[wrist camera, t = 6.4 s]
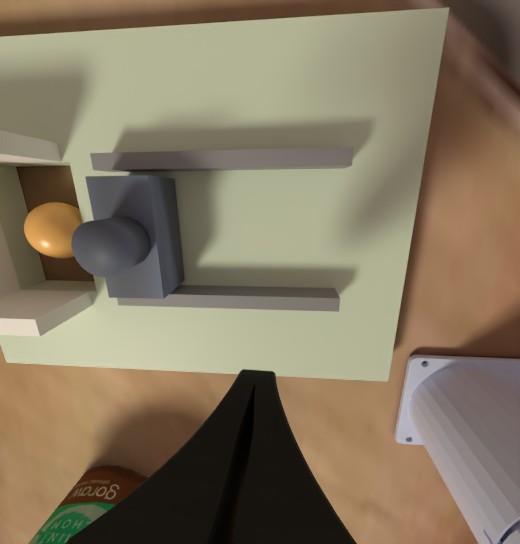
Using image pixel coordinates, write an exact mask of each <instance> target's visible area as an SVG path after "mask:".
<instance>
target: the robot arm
mask: <svg viewBox="0 0 520 544" xmlns="http://www.w3.org/2000/svg"><path fill="white" fill-rule="evenodd" d="M423 361H426V362H425V363H423V364H421V363H422V362H423ZM394 436H395V439H396V441H397V442H398V443H402V444H416V445H424V446H425V448H426V450H427V452H428V453H429V455H430V457H431V459H432V461H433V462H434V464H435V466H436V468H437V470H438V471H439V473H440V475H441V477H442V479H443V480H444V482H445V484H446V486H447V488H448V489H449V491H450V493H451V495H452V496H453V498H454V500H455V502H456V504H457V505H458V507H459V509H460V511H461V513H462V514H463V516H464V518H465V520H466V522H467V523H468V525H469V527H470V529H471V531H472V532H473V534H474V536H475V538H476V540H477V541H478V543H479V544H520V359H510V358H486V357H461V356H437V355H413V356H411V357H410V358H409V360H408V364H407V370H406V375H405V381H404V386H403V391H402V397H401V402H400V407H399V413H398V418H397V423H396V429H395V434H394ZM66 544H357V543H356V542H355V541H354V539H353V538H352V536H351V535H350V533H349V532H348V530H347V529H346V527H345V526H344V524H343V523H342V521H341V520H340V518H339V517H338V515H337V514H336V512H335V511H334V509H333V507H332V506H331V504H330V502H329V501H328V499H327V498H326V496H325V494H324V493H323V491H322V489H321V488H320V486H319V484H318V483H317V481H316V479H315V477H314V476H313V474H312V472H311V470H310V468H309V466H308V464H307V463H306V461H305V459H304V457H303V455H302V453H301V451H300V449H299V446H298V444H297V442H296V440H295V438H294V435H293V433H292V431H291V428H290V426H289V423H288V421H287V418H286V415H285V412H284V409H283V407H282V404H281V400H280V397H279V393H278V389H277V384H276V374H275V373H274V372H273V371H262V370H247V369H243V370H241V371H240V373H239V375H238V377H237V378H236V380H235V382H234V383H233V385H232V386H231V388H230V389H229V391H228V392H227V394H226V395H225V397H224V398H223V399H222V401H221V402H220V403H219V405H218V406H217V408H216V409H215V410H214V411H213V413H212V414H211V415H210V416H209V418H208V419H207V420H206V421H205V422H204V424H203V425H202V426H201V427H200V428H199V430H198V431H197V432H196V433H195V434H194V435H193V436H192V437H191V438H190V439H189V440H188V442H187V443H186V444H185V445H184V446H183V447H182V448H181V449H180V450H179V451H178V452H177V453H176V454H175V455H174V456H173V457H171V458H170V459H169V460H168V461H167V462H166V463H165V464H164V465H163V466H162V467H161V468H160V469H159V470H158V471H156V472H155V473H154V474H153V475H152V476H151V477H150V478H148V479H147V480H146V481H145V482H143V483H142V484H141V485H140V486H139V487H137V488H136V489H135V490H134V491H133V492H131V493H130V494H129V495H128V496H126V497H125V498H124V499H123V500H122V501H120V502H119V503H118V504H116V505H115V506H114V507H112V508H111V509H110V510H108V511H107V512H106V513H104V514H103V515H101V516H100V517H99V518H97V519H96V520H94V521H93V522H92V523H90V524H89V525H88V526H86V527H85V528H83V529H82V530H81V531H79V532H78V533H76V534H75V535H74V536H72V537H71V538H69V539H68V541H67V542H66Z"/></svg>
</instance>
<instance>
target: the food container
mask: <svg viewBox="0 0 520 544" xmlns="http://www.w3.org/2000/svg"><path fill="white" fill-rule="evenodd" d="M146 480H147V478H146V477H144V476H143V475H141V474H139V473H137V472H135V471H133V470H130V469H126V468H123V467H119V466H99V467H96V468H93V469H91V470H89V471H87V472H86V473H85V474H84V475H83V476H82V477H81V479H80V480H79V481H78V482H77V484H76V485H75V486H74V487H73V489H72V490H71V491H70V492H69V494H68V495H67V496H66V497H65V499H64V500H63V501H62V502H61V504H60V505H59V506H58V507H57V509H56V510H55V511H54V512H53V514H52V515H51V516H50V517H49V519H48V520H47V521H46V522H45V524H44V525H43V526H42V527H41V529H40V530H39V531H38V532H37V534H36V535H35V536H34V537H33V539H32V540H31V541H30V542H29V544H66V542H67V541H68V539H69V538H71V537H72V536H74V535H75V534H76V533H78V532H79V531H81V530H82V529H83V528H85V527H86V526H88V525H89V524H90V523H92V522H93V521H94V520H96V519H97V518H99V517H100V516H101V515H103V514H104V513H106V512H107V511H108V510H110V509H111V508H112V507H114V506H115V505H116V504H118V503H119V502H120V501H122V500H123V499H124V498H125V497H126V496H128V495H129V494H130V493H131V492H133V491H134V490H135V489H136V488H137V487H139V486H140V485H141V484H142V483H143V482H145V481H146Z"/></svg>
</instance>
